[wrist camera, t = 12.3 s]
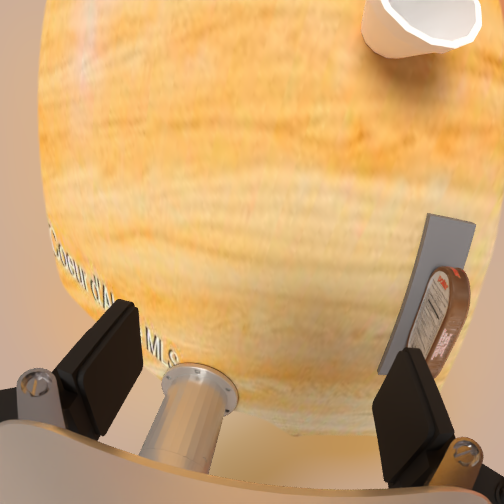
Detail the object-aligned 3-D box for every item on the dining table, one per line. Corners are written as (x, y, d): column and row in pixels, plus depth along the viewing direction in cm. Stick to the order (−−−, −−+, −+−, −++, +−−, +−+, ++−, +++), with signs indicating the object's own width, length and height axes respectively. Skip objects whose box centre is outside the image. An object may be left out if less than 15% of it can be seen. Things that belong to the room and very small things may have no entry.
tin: (415, 353, 40) (432, 394, 32) (396, 352, 40) (411, 394, 32) (451, 256, 34) (483, 288, 26) (431, 253, 34) (460, 285, 26)
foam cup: (436, 66, 27) (497, 46, 15) (365, 78, 29) (403, 54, 17) (406, -5, 24) (450, -51, 12) (334, 4, 26) (352, -51, 14)
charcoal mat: (417, 371, 42) (418, 375, 41) (377, 370, 43) (378, 374, 42) (472, 222, 33) (476, 224, 32) (427, 213, 33) (430, 215, 32)
